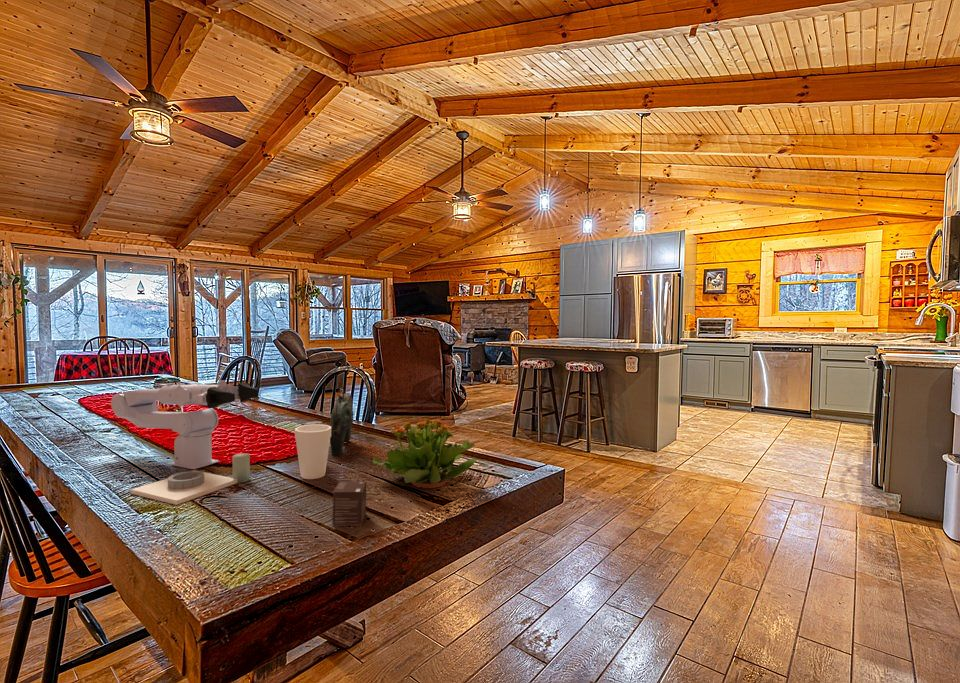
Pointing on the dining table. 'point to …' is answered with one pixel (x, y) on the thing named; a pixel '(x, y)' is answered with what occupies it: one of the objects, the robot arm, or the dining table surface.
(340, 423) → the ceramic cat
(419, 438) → the potted flower
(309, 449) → the foam cup
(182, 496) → the socket plate
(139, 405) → the robot arm
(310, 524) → the dining table surface
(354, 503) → the box
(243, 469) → the grey rounded piece
